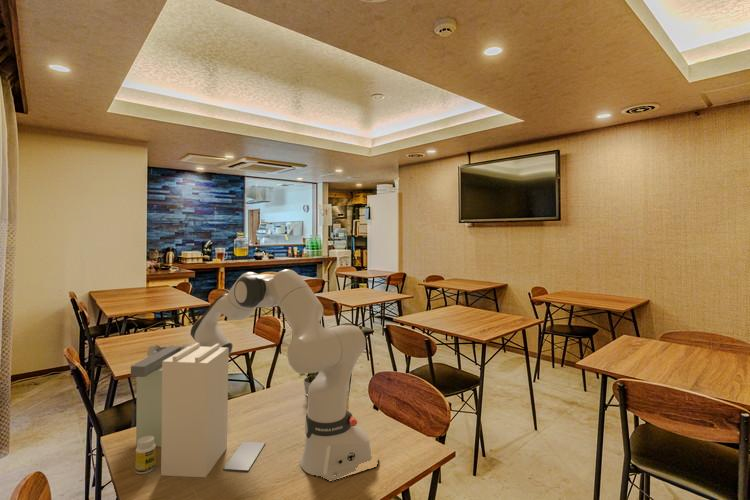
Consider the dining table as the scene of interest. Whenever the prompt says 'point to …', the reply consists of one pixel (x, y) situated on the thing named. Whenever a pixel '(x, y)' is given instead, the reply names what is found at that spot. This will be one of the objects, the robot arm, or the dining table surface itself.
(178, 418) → the outlet wall
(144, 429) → the pale green block
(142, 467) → the supplement bottle
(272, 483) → the dining table surface
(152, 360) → the bar
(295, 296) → the robot arm
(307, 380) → the house plant
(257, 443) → the plate
